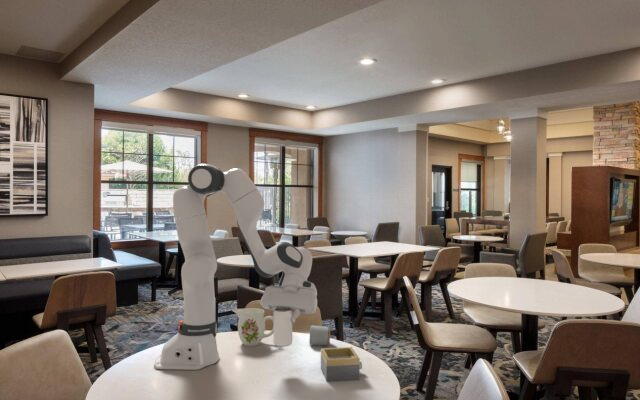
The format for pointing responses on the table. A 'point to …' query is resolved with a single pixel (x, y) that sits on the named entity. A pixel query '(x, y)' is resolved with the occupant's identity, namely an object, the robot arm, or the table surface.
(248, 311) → the pitcher
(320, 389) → the table surface
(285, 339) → the can
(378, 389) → the table surface
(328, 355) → the drawer
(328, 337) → the ceramic mug
